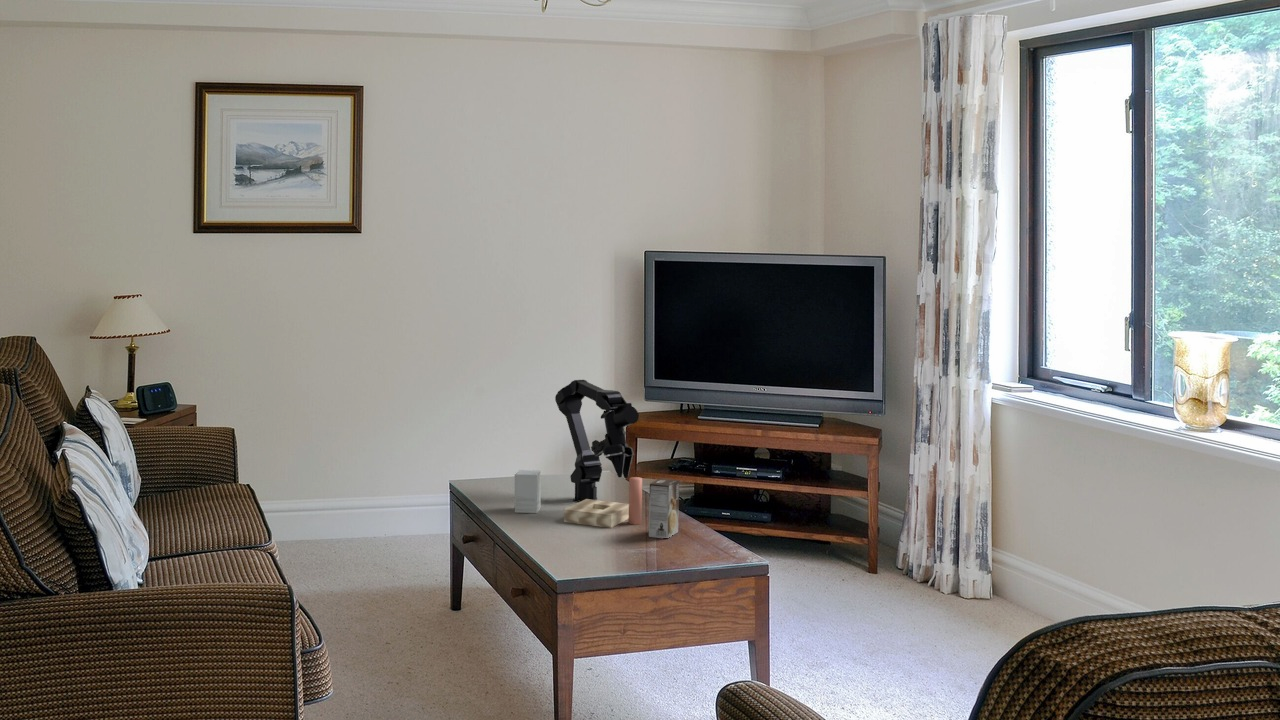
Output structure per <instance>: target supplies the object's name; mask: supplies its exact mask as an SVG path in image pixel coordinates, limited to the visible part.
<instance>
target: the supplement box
mask: <svg viewBox="0 0 1280 720" xmlns="http://www.w3.org/2000/svg"><path fill="white" fill-rule="evenodd" d="M541 476H542V475H541V470H534V469H533V470H531V469H519V470H518V471H517V472H515V473H514V513H519V514H520V513H523V514H537V513H538V512H539V511H540V510H541V502H542V501H541V484H542V483H541V480H542V479H541Z"/></svg>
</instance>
